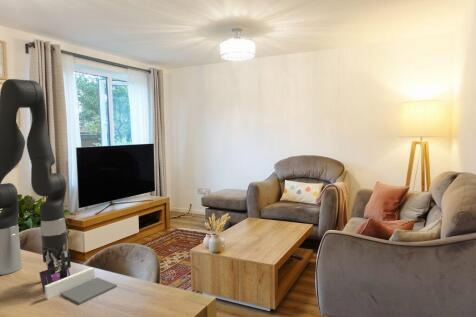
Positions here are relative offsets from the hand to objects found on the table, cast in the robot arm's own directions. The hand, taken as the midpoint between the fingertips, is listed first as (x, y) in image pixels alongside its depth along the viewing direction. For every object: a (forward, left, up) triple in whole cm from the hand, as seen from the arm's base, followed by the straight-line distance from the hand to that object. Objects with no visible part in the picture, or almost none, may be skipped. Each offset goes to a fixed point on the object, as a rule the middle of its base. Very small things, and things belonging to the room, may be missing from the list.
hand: (57, 277), depth 114 cm
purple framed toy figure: (+2, -2, -2) cm, 3 cm away
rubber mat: (+16, +2, -2) cm, 16 cm away
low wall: (+8, 0, -2) cm, 9 cm away
